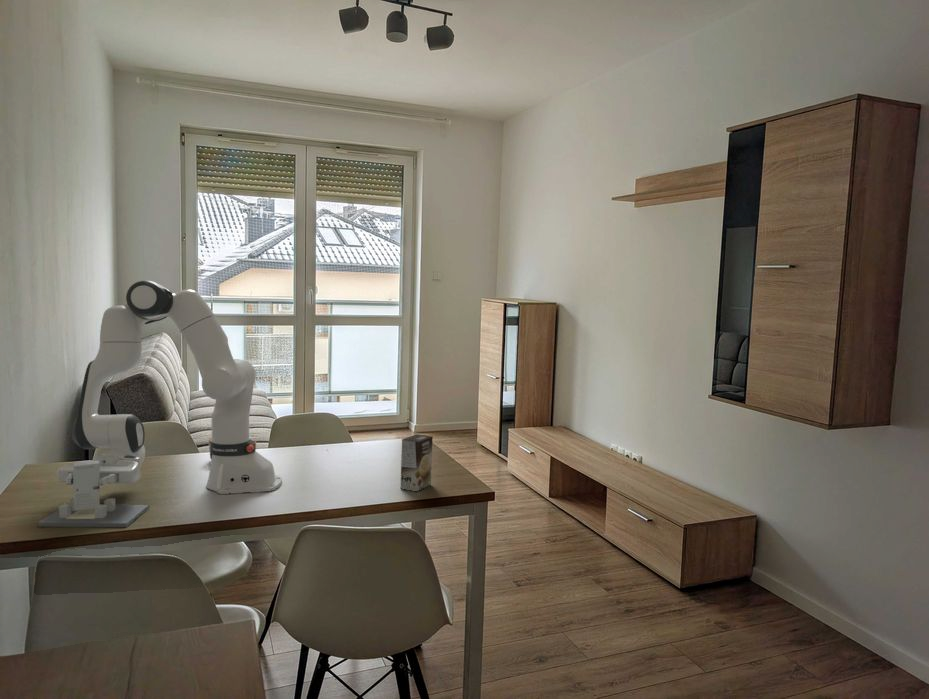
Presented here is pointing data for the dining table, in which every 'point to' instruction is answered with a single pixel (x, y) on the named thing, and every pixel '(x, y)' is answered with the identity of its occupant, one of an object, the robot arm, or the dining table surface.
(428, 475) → the coffee box
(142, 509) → the board
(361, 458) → the dining table surface
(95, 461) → the skincare box
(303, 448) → the dining table surface
